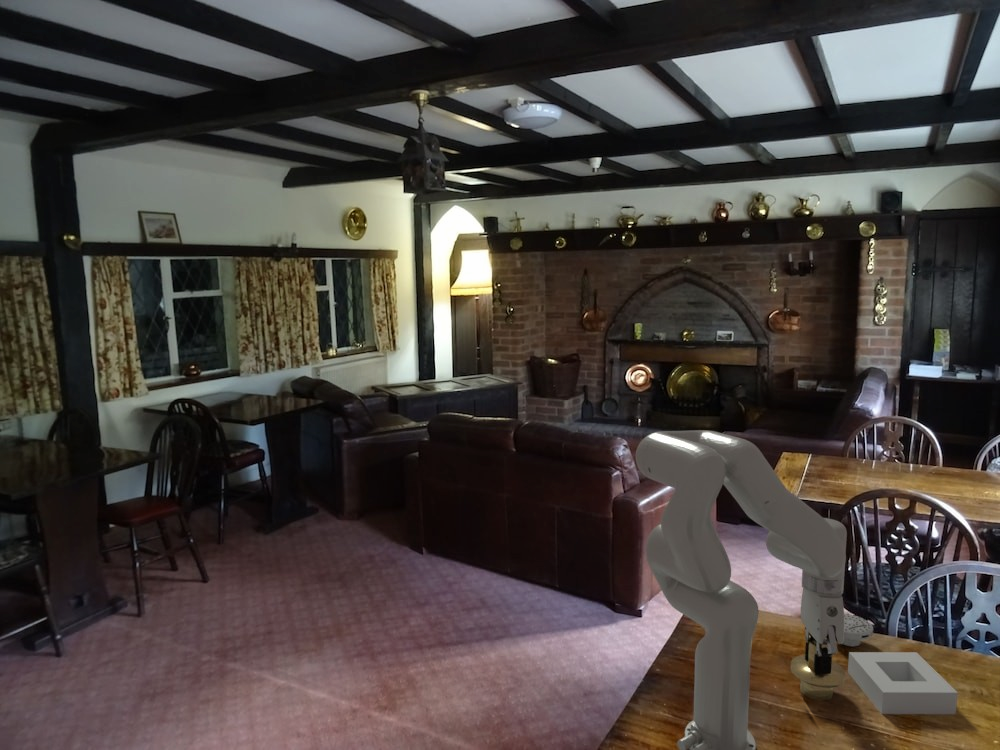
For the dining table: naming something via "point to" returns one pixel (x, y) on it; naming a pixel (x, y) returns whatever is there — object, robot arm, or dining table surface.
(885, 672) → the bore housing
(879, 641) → the dining table surface
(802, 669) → the end cover
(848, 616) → the showerhead
